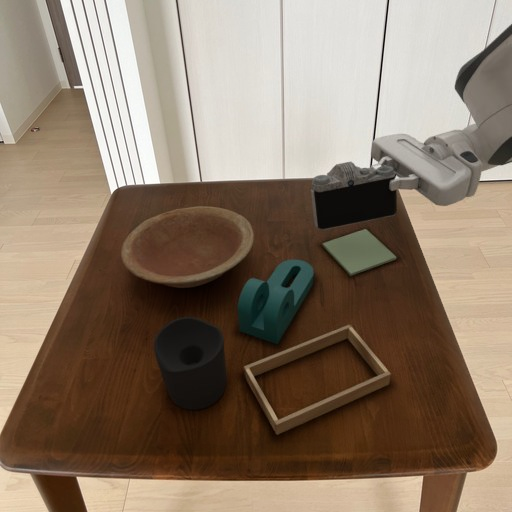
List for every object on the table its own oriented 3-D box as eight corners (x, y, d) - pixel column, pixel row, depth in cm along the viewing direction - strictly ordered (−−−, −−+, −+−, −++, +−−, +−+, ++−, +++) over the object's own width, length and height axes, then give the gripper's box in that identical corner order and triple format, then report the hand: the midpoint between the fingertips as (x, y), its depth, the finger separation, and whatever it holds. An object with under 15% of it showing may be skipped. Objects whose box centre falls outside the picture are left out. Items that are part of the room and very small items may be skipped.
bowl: (257, 230, 104) (255, 198, 99) (253, 316, 85) (250, 281, 80) (143, 233, 105) (135, 200, 100) (115, 317, 87) (104, 282, 82)
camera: (386, 199, 95) (385, 148, 90) (400, 215, 89) (399, 161, 84) (309, 215, 94) (303, 164, 89) (317, 231, 88) (311, 178, 83)
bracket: (277, 344, 80) (276, 309, 75) (239, 331, 83) (236, 296, 78) (318, 274, 93) (320, 240, 88) (284, 265, 95) (284, 231, 90)
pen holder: (219, 353, 80) (212, 308, 73) (237, 401, 73) (231, 356, 66) (160, 371, 77) (148, 326, 71) (172, 422, 71) (160, 378, 64)
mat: (396, 259, 95) (396, 256, 94) (350, 276, 92) (350, 273, 92) (365, 231, 102) (365, 228, 102) (322, 245, 99) (322, 243, 99)
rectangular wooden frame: (389, 384, 74) (391, 373, 72) (276, 435, 68) (276, 425, 67) (348, 334, 81) (349, 324, 80) (244, 376, 76) (243, 366, 74)
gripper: (410, 120, 97) (348, 137, 93) (490, 167, 82) (420, 190, 78) (405, 149, 101) (345, 167, 97) (481, 200, 86) (414, 223, 82)
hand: (380, 178), depth 87 cm, fingers closed on camera, 3 cm apart
